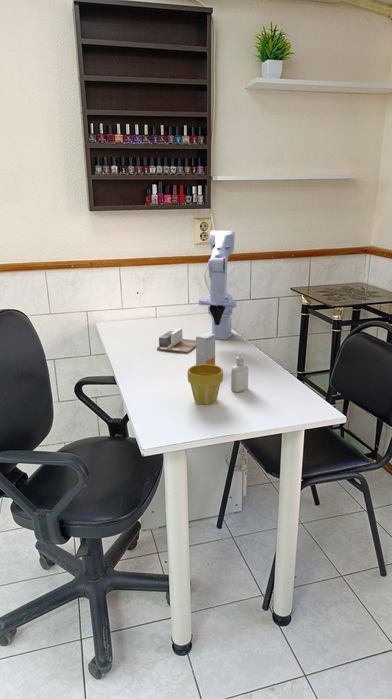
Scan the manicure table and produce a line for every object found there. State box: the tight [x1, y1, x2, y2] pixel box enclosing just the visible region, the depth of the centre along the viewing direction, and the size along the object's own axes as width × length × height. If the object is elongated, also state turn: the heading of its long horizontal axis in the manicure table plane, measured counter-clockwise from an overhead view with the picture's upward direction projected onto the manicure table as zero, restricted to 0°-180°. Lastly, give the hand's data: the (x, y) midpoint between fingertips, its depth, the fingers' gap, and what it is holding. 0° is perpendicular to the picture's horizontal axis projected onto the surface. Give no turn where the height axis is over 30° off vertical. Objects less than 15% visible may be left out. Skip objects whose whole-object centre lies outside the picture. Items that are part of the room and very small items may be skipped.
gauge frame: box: [156, 330, 196, 355], centre depth 194 cm, size 14×13×4 cm
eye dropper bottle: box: [230, 352, 249, 393], centre depth 152 cm, size 4×6×12 cm
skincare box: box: [195, 332, 216, 365], centre depth 171 cm, size 6×4×12 cm
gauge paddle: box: [168, 327, 184, 348], centre depth 193 cm, size 12×1×5 cm, turn 157°
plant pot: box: [187, 364, 224, 406], centre depth 146 cm, size 10×10×10 cm
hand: (217, 324), depth 190 cm, fingers closed
